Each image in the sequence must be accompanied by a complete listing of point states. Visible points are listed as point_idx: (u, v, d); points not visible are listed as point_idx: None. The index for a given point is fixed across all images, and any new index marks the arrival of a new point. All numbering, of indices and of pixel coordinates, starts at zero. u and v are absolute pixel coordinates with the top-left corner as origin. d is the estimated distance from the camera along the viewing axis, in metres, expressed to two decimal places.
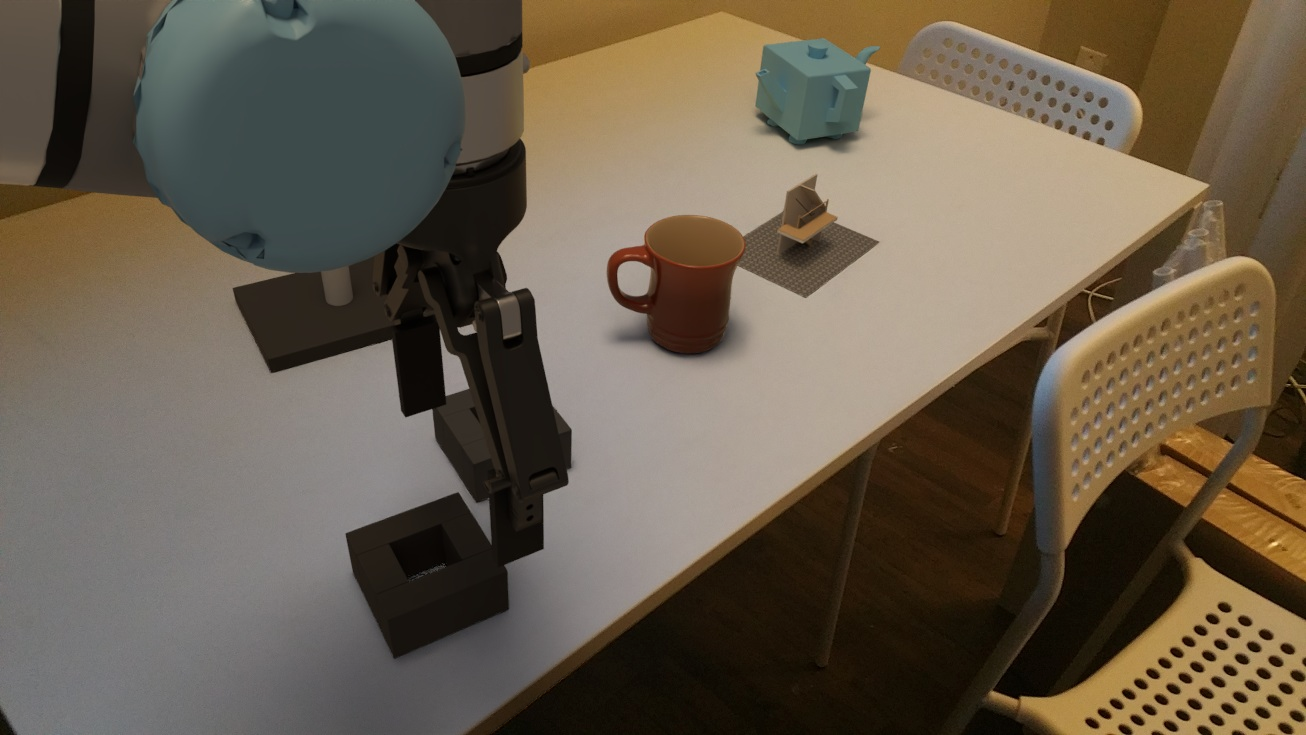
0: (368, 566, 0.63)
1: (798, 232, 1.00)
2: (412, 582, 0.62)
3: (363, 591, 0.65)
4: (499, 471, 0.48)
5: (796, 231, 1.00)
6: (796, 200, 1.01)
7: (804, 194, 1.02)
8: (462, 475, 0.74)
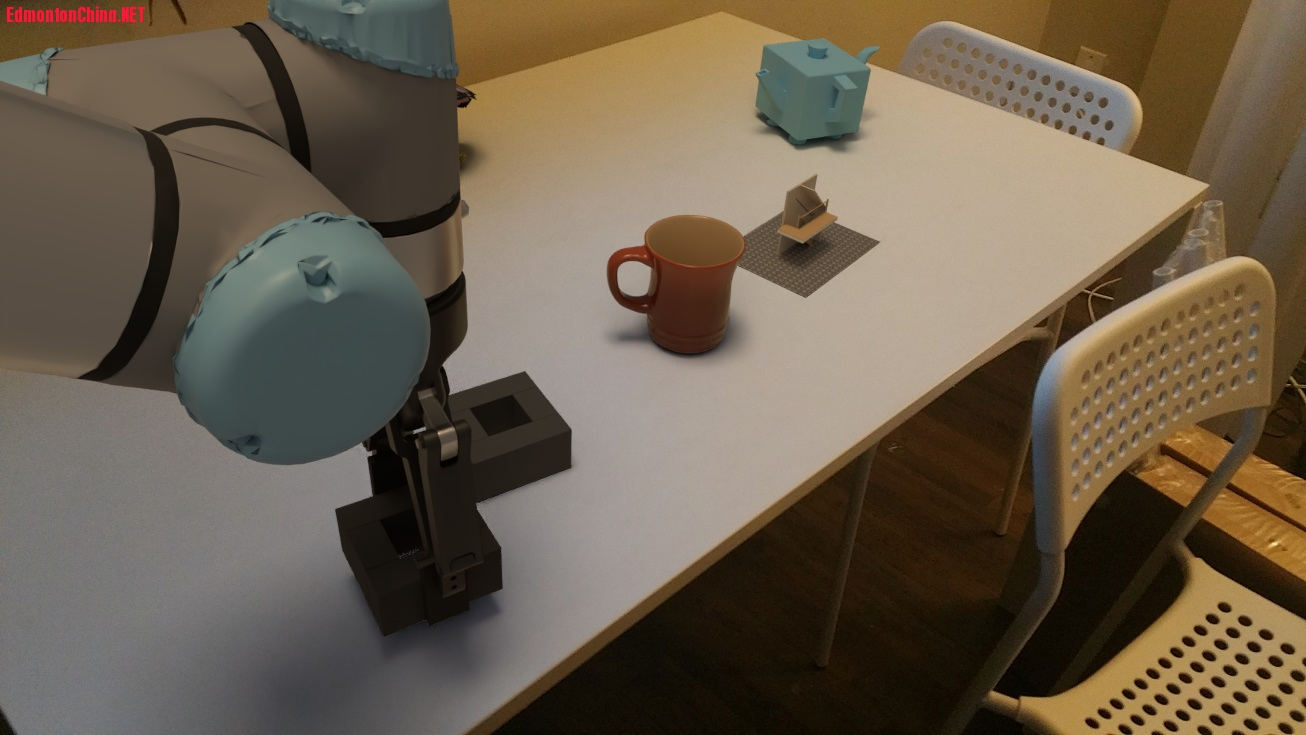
0: (358, 542, 0.61)
1: (798, 232, 1.00)
2: (403, 558, 0.60)
3: (353, 569, 0.64)
4: (426, 550, 0.56)
5: (796, 231, 1.00)
6: (796, 200, 1.01)
7: (804, 194, 1.02)
8: None
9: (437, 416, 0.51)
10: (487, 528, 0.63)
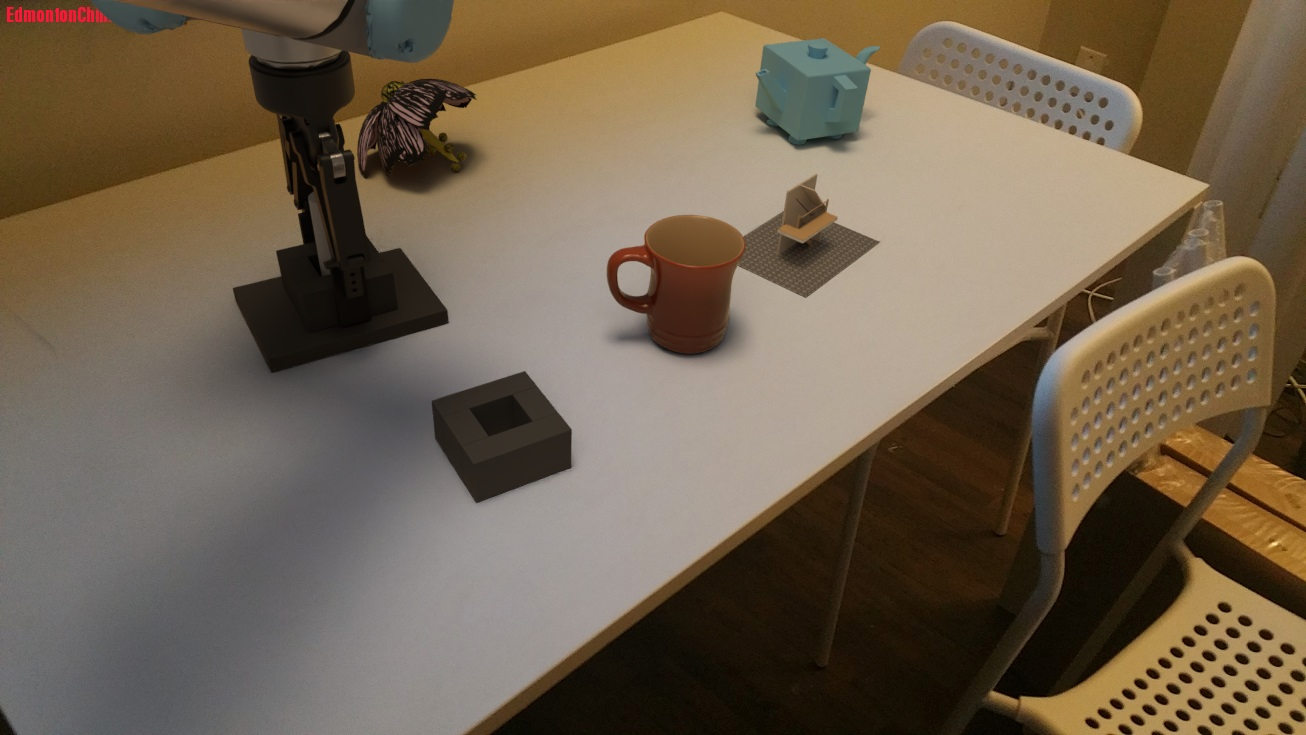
0: (291, 268, 0.86)
1: (798, 232, 1.00)
2: (322, 276, 0.85)
3: (289, 295, 0.89)
4: (332, 257, 0.81)
5: (796, 231, 1.00)
6: (796, 200, 1.01)
7: (804, 194, 1.02)
8: (462, 475, 0.74)
9: (331, 147, 0.76)
10: (384, 262, 0.88)
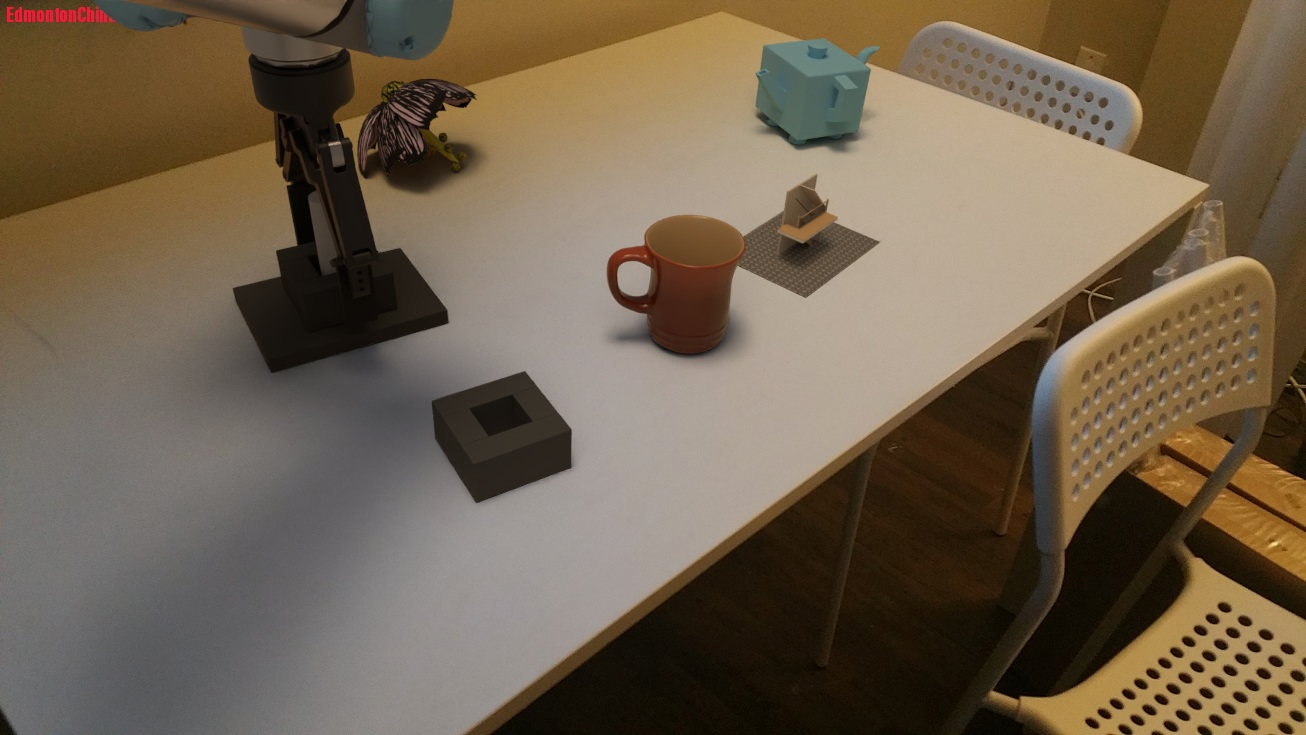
0: (291, 268, 0.86)
1: (798, 232, 1.00)
2: (322, 276, 0.85)
3: (289, 294, 0.89)
4: (338, 254, 0.79)
5: (796, 231, 1.00)
6: (796, 200, 1.01)
7: (804, 194, 1.02)
8: (462, 475, 0.74)
9: (329, 138, 0.75)
10: (384, 262, 0.88)
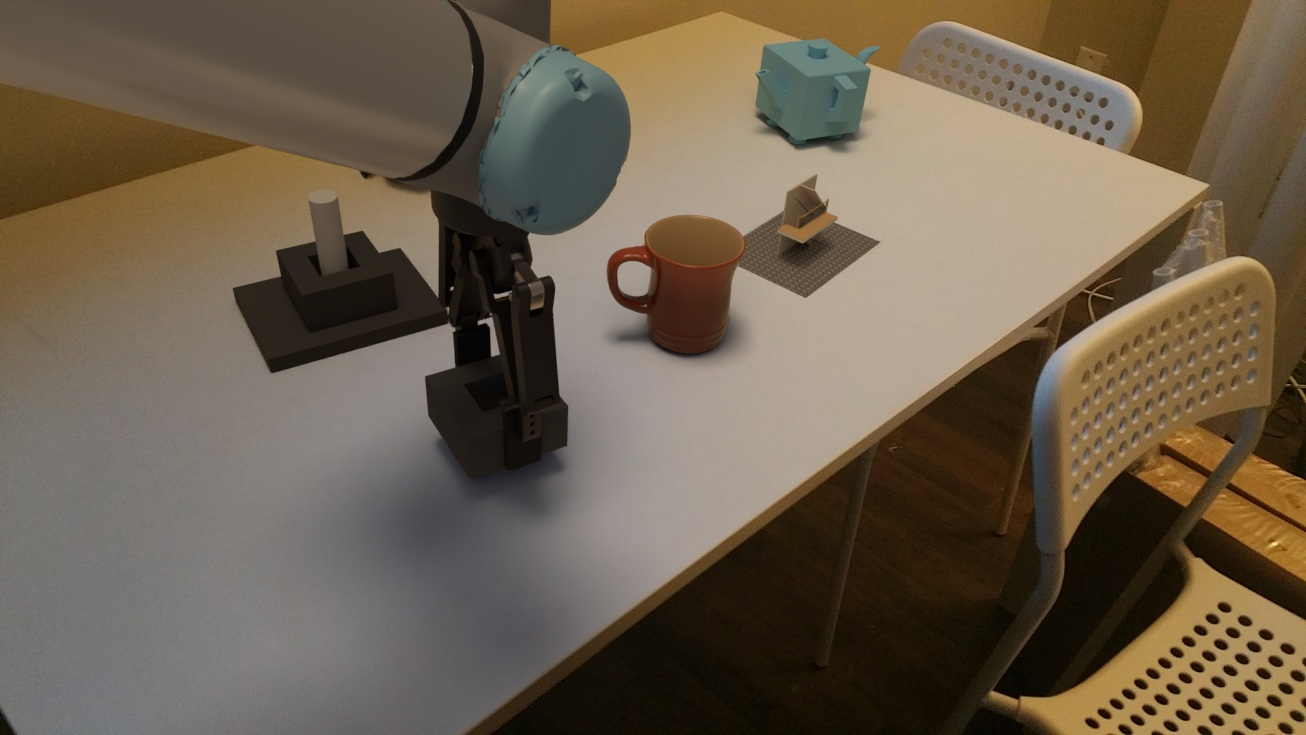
0: (291, 268, 0.86)
1: (798, 232, 1.00)
2: (322, 276, 0.85)
3: (289, 294, 0.89)
4: (511, 396, 0.67)
5: (796, 231, 1.00)
6: (796, 200, 1.01)
7: (804, 194, 1.02)
8: (455, 452, 0.72)
9: (527, 273, 0.62)
10: (384, 262, 0.88)
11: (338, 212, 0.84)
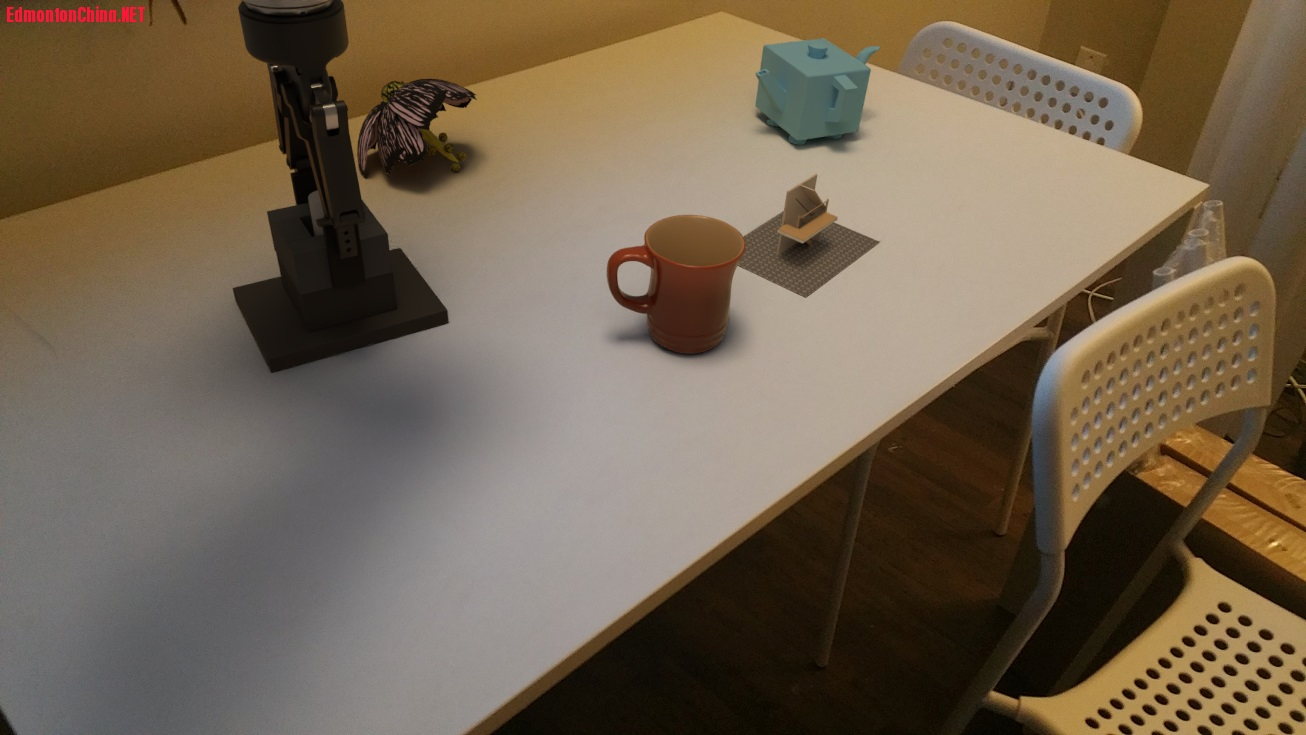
0: None
1: (798, 232, 1.00)
2: None
3: (289, 294, 0.89)
4: (325, 214, 0.79)
5: (796, 231, 1.00)
6: (796, 200, 1.01)
7: (804, 194, 1.02)
8: (291, 273, 0.84)
9: (323, 97, 0.73)
10: None
11: None
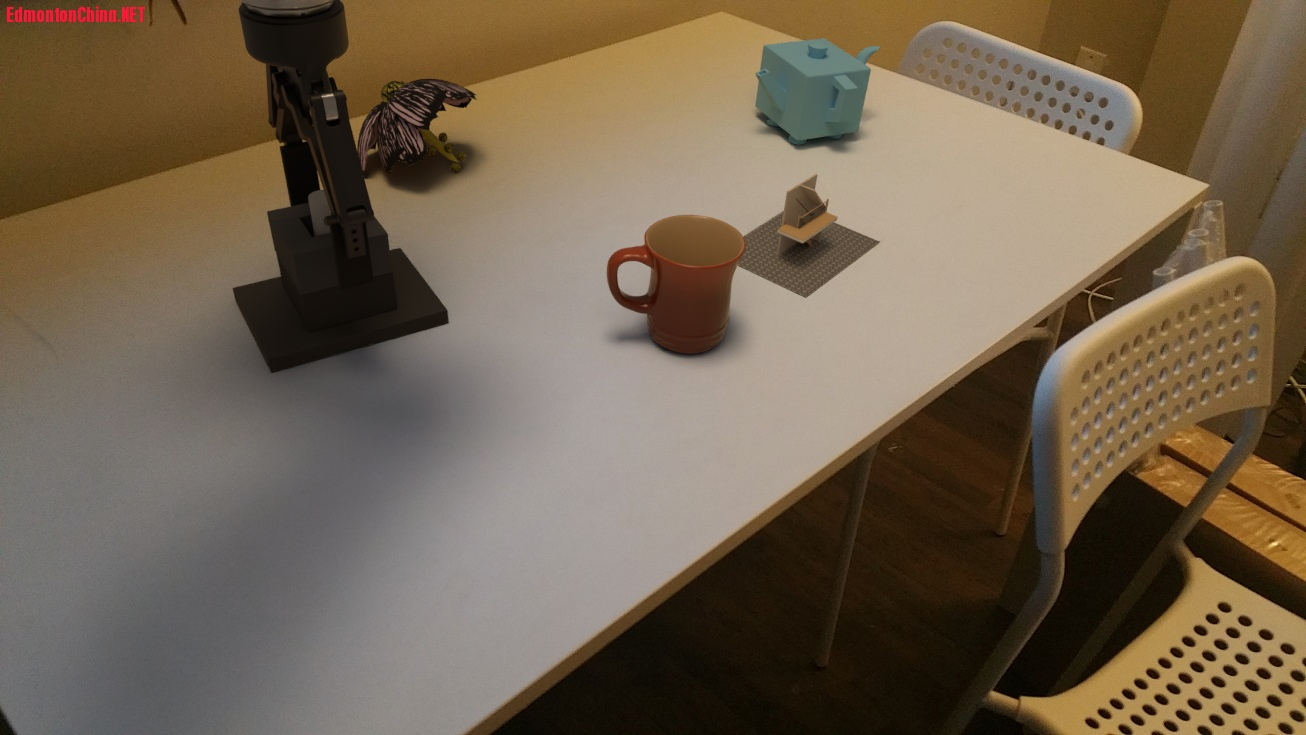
0: None
1: (798, 232, 1.00)
2: None
3: (289, 294, 0.89)
4: (332, 212, 0.76)
5: (796, 231, 1.00)
6: (796, 200, 1.01)
7: (804, 194, 1.02)
8: (291, 273, 0.84)
9: (322, 90, 0.73)
10: None
11: None
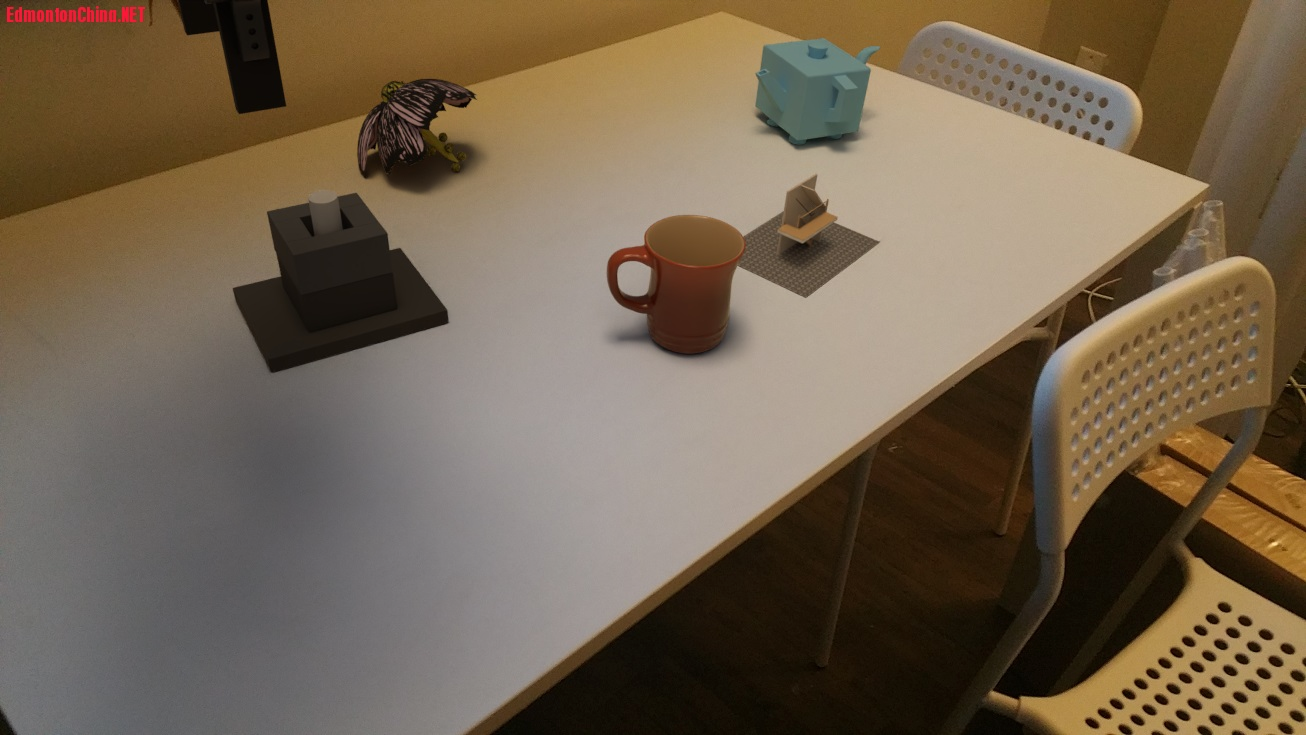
0: None
1: (798, 232, 1.00)
2: None
3: (289, 294, 0.89)
4: None
5: (796, 231, 1.00)
6: (796, 200, 1.01)
7: (804, 194, 1.02)
8: (291, 273, 0.84)
9: None
10: None
11: (338, 212, 0.84)
